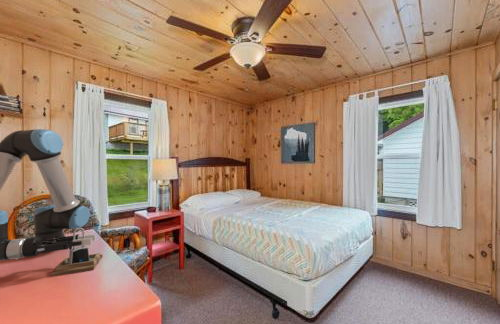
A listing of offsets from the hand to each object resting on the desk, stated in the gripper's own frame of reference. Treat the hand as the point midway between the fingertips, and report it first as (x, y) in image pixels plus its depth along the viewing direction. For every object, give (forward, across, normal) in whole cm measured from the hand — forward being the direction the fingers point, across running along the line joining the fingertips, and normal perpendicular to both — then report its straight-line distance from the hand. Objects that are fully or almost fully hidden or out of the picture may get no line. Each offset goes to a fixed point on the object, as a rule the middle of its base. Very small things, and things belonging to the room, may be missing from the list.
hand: (93, 239), depth 101 cm
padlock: (-5, 0, -10) cm, 11 cm away
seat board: (-5, 0, -11) cm, 12 cm away
